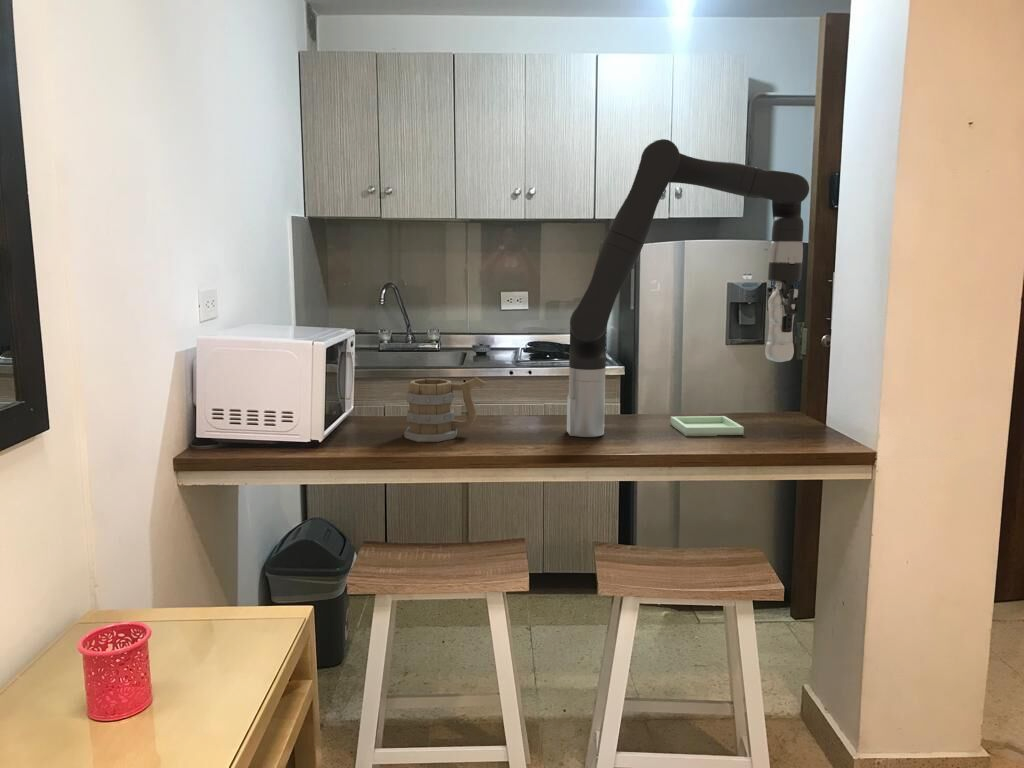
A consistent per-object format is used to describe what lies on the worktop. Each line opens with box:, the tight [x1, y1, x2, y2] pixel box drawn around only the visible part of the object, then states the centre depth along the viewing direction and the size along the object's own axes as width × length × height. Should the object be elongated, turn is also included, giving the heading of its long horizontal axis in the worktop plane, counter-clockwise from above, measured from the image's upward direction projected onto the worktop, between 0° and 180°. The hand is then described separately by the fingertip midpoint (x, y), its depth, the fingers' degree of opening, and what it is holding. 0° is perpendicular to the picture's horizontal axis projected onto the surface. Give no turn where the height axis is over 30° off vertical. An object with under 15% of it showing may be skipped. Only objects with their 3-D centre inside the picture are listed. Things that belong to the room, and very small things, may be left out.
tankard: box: [404, 376, 486, 443], centre depth 185 cm, size 20×13×15 cm, turn 89°
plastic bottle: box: [764, 281, 795, 363], centre depth 179 cm, size 6×7×20 cm
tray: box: [670, 415, 745, 437], centre depth 194 cm, size 15×14×2 cm
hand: (780, 330), depth 179 cm, fingers closed on plastic bottle, 6 cm apart
